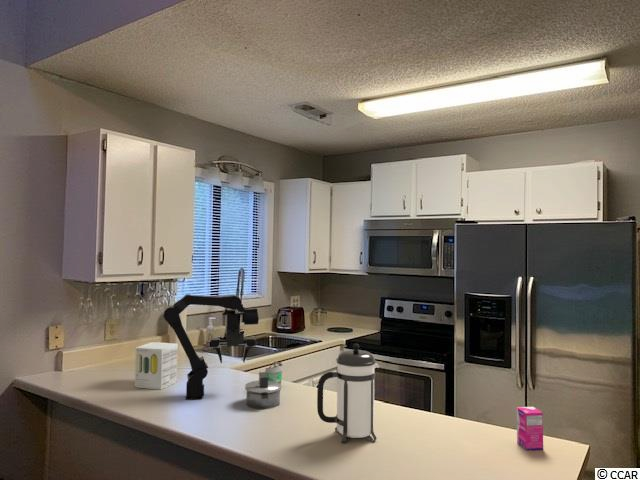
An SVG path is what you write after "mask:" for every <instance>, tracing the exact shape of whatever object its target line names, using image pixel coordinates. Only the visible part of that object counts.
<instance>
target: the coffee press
mask: <svg viewBox="0 0 640 480" xmlns="http://www.w3.org/2000/svg"><path fill="white" fill-rule="evenodd" d="M335 361H336V364H337V367H336V371H328V372H325V373H323V374H322V375H321V376H320V378H319V380H318V383H317V391H316V392H317V393H316V397H317V398H316V399H317V400H316V402H317V403H316V405H317V406H316V407H317V415H318V417H319V419H320V420H321V421H323V422H325V423H330V424H331V423H332V424H333V423H335V424H336V427H335V428H334V430H335V432H336V433H339V434H340V435H342V437H341V443H342V444H348V442H349V439H351V438H352V439H354V438H355V439H360V438H365V437H366V438H368V440H369V441H370V442H372V443H374V442H376V441H377V436H376V435H375V432H374V429H375V425H374V424H375V378H376V371H375V369H376V368H377V369H379V368H380V366H379V364H378V363H377V360H376V359H375V356H374V355H373V354H372V353H371V352H369V351H367V350H362V349H360V345H359V343H353V345H352V349H348V350H347V349H346V350H344V351H341V352H340V353H339V354H338V356H337V358H336V359H335ZM333 378H337V379H336V380H337V381H336V382H337V383H336V386H337V387H336V389H337V390H336V391H337V392H336V416H327V415H325V413H324V384H325V383H326V381H327V380H328V379H333ZM371 435H372V436H371Z"/></svg>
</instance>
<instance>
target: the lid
mask: <svg viewBox="0 0 640 480" xmlns="http://www.w3.org/2000/svg"><path fill="white" fill-rule="evenodd" d="M281 389H282V383H281V384H280V383H279V382H276V381H270V380H268V376H267V372H265V371H259V372H258V380H252V381H249V382H247V383H245V385H244V390H245V391H246V392H247V391H248V392H251V393H260V394H263V393H273V392H276V391H279V390H280V391H281Z"/></svg>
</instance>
